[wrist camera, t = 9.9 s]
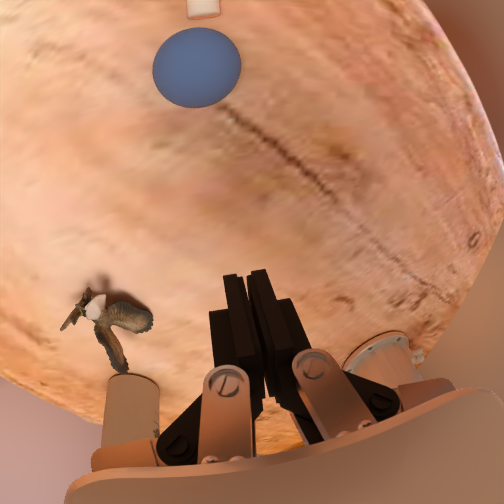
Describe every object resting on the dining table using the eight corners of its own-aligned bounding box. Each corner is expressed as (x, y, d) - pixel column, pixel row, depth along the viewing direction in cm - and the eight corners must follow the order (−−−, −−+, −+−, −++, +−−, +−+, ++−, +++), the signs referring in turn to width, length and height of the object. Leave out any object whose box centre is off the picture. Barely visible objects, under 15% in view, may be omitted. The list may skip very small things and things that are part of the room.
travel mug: (107, 393, 38) (99, 496, 23) (110, 367, 34) (98, 488, 19) (154, 403, 40) (157, 505, 25) (164, 379, 37) (168, 498, 22)
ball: (243, 59, 13) (248, 116, 19) (232, 6, 14) (238, 61, 20) (136, 80, 13) (165, 131, 19) (145, 24, 14) (166, 74, 20)
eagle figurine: (65, 321, 28) (125, 366, 31) (52, 337, 21) (127, 391, 24) (101, 270, 30) (160, 318, 33) (95, 274, 23) (170, 333, 26)
